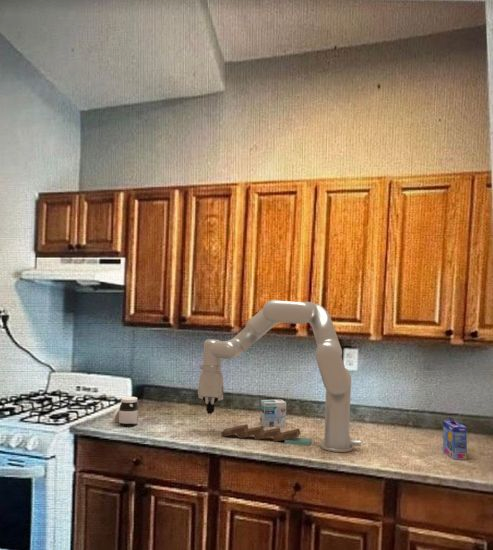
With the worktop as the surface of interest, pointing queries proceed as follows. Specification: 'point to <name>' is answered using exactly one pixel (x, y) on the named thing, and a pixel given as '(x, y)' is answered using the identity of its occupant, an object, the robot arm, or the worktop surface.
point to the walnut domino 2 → (251, 432)
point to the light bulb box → (273, 413)
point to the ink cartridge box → (455, 439)
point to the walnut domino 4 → (287, 435)
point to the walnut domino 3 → (268, 433)
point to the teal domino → (298, 441)
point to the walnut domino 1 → (234, 430)
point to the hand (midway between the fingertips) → (210, 413)
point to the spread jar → (127, 412)
